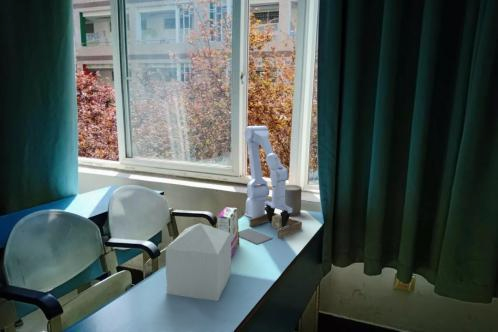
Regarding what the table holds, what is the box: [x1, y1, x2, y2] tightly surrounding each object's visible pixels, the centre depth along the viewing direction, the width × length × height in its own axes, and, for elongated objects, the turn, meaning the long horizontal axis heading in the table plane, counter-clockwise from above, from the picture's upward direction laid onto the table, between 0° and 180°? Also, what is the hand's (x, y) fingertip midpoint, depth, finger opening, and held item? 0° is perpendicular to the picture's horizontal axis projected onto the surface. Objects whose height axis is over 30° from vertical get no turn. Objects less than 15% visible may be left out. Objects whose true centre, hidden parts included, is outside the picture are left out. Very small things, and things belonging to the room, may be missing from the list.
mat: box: [238, 228, 273, 245], centre depth 146 cm, size 14×9×1 cm, turn 45°
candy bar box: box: [216, 206, 238, 259], centre depth 129 cm, size 11×5×16 cm, turn 168°
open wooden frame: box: [249, 212, 303, 239], centre depth 156 cm, size 18×15×4 cm
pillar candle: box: [281, 184, 302, 217], centre depth 175 cm, size 10×10×15 cm
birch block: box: [271, 213, 284, 230], centre depth 157 cm, size 4×4×5 cm
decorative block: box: [165, 222, 232, 302], centre depth 107 cm, size 16×16×20 cm
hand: (277, 224), depth 157 cm, fingers open, 7 cm apart
